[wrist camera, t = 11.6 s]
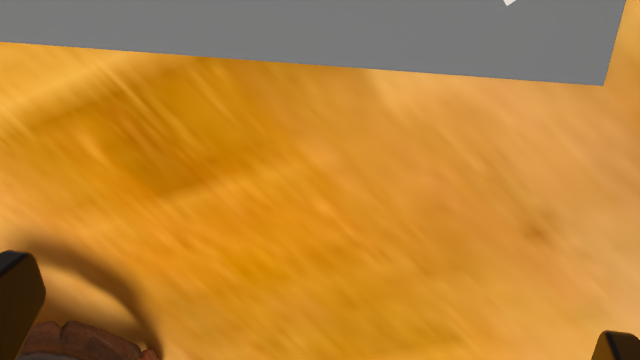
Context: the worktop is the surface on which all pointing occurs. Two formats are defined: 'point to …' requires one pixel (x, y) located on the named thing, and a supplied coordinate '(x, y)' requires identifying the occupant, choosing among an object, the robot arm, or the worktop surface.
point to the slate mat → (343, 33)
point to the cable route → (508, 1)
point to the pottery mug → (78, 344)
